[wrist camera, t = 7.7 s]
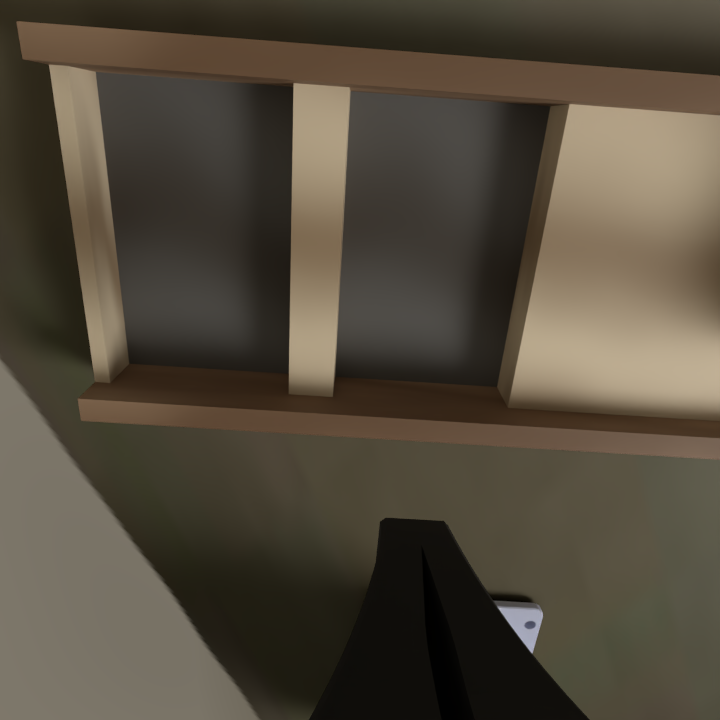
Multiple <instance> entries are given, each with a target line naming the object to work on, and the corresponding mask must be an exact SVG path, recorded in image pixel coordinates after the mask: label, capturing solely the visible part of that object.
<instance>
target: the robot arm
mask: <svg viewBox="0 0 720 720" xmlns="http://www.w3.org/2000/svg"><path fill="white" fill-rule="evenodd" d="M542 618H543V613H542V610H541V608H540V606H539V605H538V604H536V603H528V602H510V601H493V599H492V598H491V596H490V595H489V593H488V592H487V591H486V589H485V588H484V586H483V585H482V583H481V581H480V580H479V578H478V577H477V575H476V574H475V572H474V570H473V569H472V567H471V565H470V564H469V562H468V560H467V559H466V557H465V555H464V554H463V552H462V550H461V549H460V547H459V545H458V543H457V541H456V540H455V538H454V536H453V534H452V532H451V530H450V529H449V527H448V525H447V524H446V523H445V522H444V521H433V520H416V519H398V518H385V519H384V520H382V521H381V522H380V528H379V537H378V547H377V557H376V563H375V567H374V571H373V574H372V578H371V581H370V584H369V588H368V591H367V594H366V597H365V600H364V603H363V605H362V608H361V611H360V613H359V616H358V618H357V621H356V624H355V626H354V629H353V631H352V634H351V636H350V639H349V641H348V643H347V645H346V648H345V650H344V652H343V654H342V657H341V659H340V661H339V663H338V665H337V667H336V669H335V671H334V673H333V675H332V677H331V679H330V681H329V683H328V685H327V687H326V689H325V691H324V693H323V695H322V697H321V699H320V700H319V702H318V704H317V706H316V708H315V710H314V712H313V714H312V715H311V717H310V719H309V720H589V719H588V718H587V716H586V715H585V714H584V713H583V712H582V711H581V710H580V709H579V708H578V707H577V706H576V704H575V703H574V702H573V701H572V700H571V699H570V698H569V697H568V696H567V695H566V693H565V692H564V691H563V690H562V689H561V688H560V687H559V685H558V684H557V683H556V682H555V681H554V680H553V678H552V677H551V676H550V675H549V674H548V673H547V671H546V670H545V669H544V668H543V667H542V665H541V664H540V663H539V662H538V660H537V659H536V658H535V657H534V655H533V654H532V653H533V650H534V646H535V643H536V639H537V636H538V632H539V629H540V625H541V621H542ZM528 621H529V622H528Z"/></svg>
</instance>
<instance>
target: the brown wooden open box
mask: <svg viewBox="0 0 720 720" xmlns="http://www.w3.org/2000/svg"><path fill="white" fill-rule="evenodd" d="M16 22H17V28H18V34H19V41H20V47H21V53H22V59H24V60H29V61H34V62H39V63H44V64H48V65H49V68H50V75H51V82H52V89H53V96H54V103H55V109H56V116H57V123H58V130H59V137H60V144H61V151H62V158H63V164H64V171H65V178H66V185H67V192H68V199H69V206H70V213H71V219H72V226H73V233H74V240H75V247H76V254H77V261H78V268H79V274H80V281H81V288H82V295H83V302H84V309H85V316H86V323H87V329H88V336H89V343H90V350H91V357H92V364H93V371H94V378H95V383H94V384H93V385H92V386H91V387H89V388H88V389H87V390H86V391H85V392H84V393H83V394H82V395H81V396H80V397H79V398H78V404H79V410H80V416H81V421H93V422H110V423H126V424H143V425H159V426H176V427H192V428H208V429H225V430H241V431H258V432H274V433H291V434H307V435H323V436H340V437H356V438H373V439H389V440H406V441H422V442H439V443H455V444H471V445H488V446H504V447H521V448H537V449H554V450H570V451H586V452H603V453H619V454H636V455H652V456H669V457H685V458H702V459H718V460H720V76H717V75H704V74H692V73H679V72H666V71H653V70H640V69H627V68H614V67H601V66H588V65H576V64H563V63H550V62H537V61H524V60H511V59H498V58H485V57H472V56H459V55H447V54H434V53H421V52H408V51H395V50H382V49H369V48H356V47H343V46H331V45H318V44H305V43H292V42H279V41H266V40H253V39H240V38H227V37H215V36H202V35H189V34H176V33H163V32H150V31H137V30H124V29H111V28H99V27H86V26H73V25H60V24H47V23H34V22H21V21H16Z"/></svg>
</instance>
